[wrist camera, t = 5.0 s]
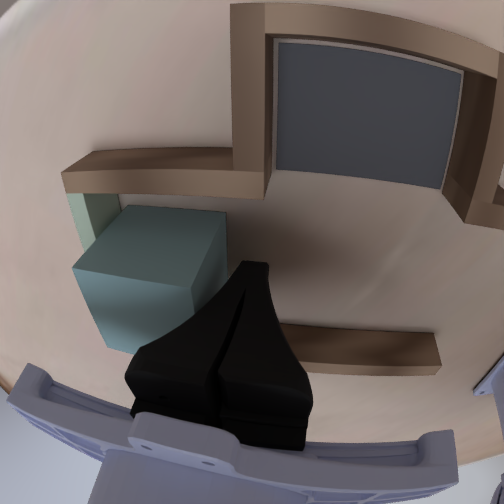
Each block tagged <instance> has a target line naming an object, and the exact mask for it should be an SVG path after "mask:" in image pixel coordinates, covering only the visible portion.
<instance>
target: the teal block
mask: <svg viewBox="0 0 504 504" xmlns="http://www.w3.org/2000/svg"><path fill="white" fill-rule="evenodd" d="M72 270H73V272H74V275H75V277H76V280H77V282H78V285H79V287H80V289H81V292H82V294H83V296H84V299H85V301H86V303H87V306H88V308H89V310H90V312H91V314H92V316H93V319H94V321H95V323H96V325H97V327H98V329H99V331H100V333H101V335H102V337H103V339H104V341H105V343H106V345H107V347H108V348H112V349H115V350H119V351H123V352H126V353H130V354H134V355H135V353H136V352H137V350H138V349H139V347H141V346H144V345H146V344H148V343H150V342H152V341H154V340H156V339H158V338H160V337H162V336H164V335H165V334H167V333H168V332H170V331H172V330H173V329H175V328H177V327H178V326H180V325H181V324H182V323H184V322H185V321H186V320H188V319H189V318H190V317H192V316H193V315H194V314H195V313H197V312H198V311H199V310H200V309H201V308H202V307H203V306H204V305H205V304H207V303H208V302H209V301H210V300H211V299H212V297H213V296H214V295H215V294H216V293H217V292H218V291H219V290H220V289H221V288H222V287H223V285H224V284H225V283H226V282H227V281H228V267H227V239H226V212H215V211H204V210H192V209H179V208H165V207H151V206H136V205H128V206H127V207H126V208H125V209H124V210H123V211H122V212H121V213H120V214H119V215H118V216H117V217H116V218H115V219H114V221H113V222H112V223H111V224H110V225H109V226H108V227H107V228H106V229H105V230H104V231H103V232H102V234H101V235H100V236H99V237H98V238H97V239H96V240H95V241H94V242H93V244H92V245H91V246H90V247H89V248H88V249H87V250H86V252H85V253H84V254H83V255H82V256H81V257H80V259H79V260H78V261H77V262H76V263H75V265H74V266H73V267H72Z"/></svg>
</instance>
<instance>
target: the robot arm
mask: <svg viewBox="0 0 504 504" xmlns="http://www.w3.org/2000/svg"><path fill="white" fill-rule="evenodd" d="M268 275H269V265H268V264H267V263H265V262H255V261H244V260H243V261H242V262H241V263H240V265H239V266H238V268H237V269H236V270H235V272H234V273H233V274H232V276H231V277H230V278H229V280H228V281H227V282H226V283H225V284H224V285H223V287H222V288H221V289H220V290H219V291H218V292H217V293H216V294H215V295H214V296H213V297H212V299H211V300H210V301H209V302H208V303H207V304H205V305H204V306H203V307H202V308H201V309H200V310H199V311H198V312H197V313H195V314H194V315H193V316H192V317H190V318H189V319H188V320H186V321H185V322H184V323H182V324H181V325H180V326H178V327H177V328H175V329H173V330H172V331H170V332H168V333H167V334H165V335H164V336H162V337H160V338H158V339H156V340H154V341H152V342H150V343H148V344H146V345H144V346H141V347H139V349H138V350H137V352H136V353H135V355H134V357H133V358H132V360H131V362H130V364H129V366H128V369H127V371H126V373H125V377H124V378H125V381H126V383H127V385H128V386H129V388H130V390H131V391H132V393H133V394H134V396H135V397H136V399H135V401H134V404H133V406H132V409H129V408H126V407H122V406H119V405H116V404H113V403H110V402H107V401H105V400H102V399H99V398H96V397H93V396H91V395H88V394H85V393H83V392H80V391H78V390H75V389H73V388H70V387H68V386H65V385H63V384H61V383H58V382H56V381H54V380H53V379H52V377H51V376H50V375H49V374H48V373H47V372H46V371H45V370H43V369H41V368H39V367H37V366H35V365H33V364H30V363H28V364H27V365H26V367H25V369H24V370H23V372H22V374H21V375H20V377H19V379H18V380H17V382H16V384H15V386H14V387H13V389H12V391H11V393H10V394H9V396H8V398H7V400H6V401H7V403H8V404H9V405H10V406H11V407H13V409H15V410H16V411H17V412H18V413H19V414H20V415H21V416H23V417H24V418H25V419H26V420H27V421H28V422H29V423H31V424H32V425H33V426H35V427H37V428H38V429H40V430H42V431H43V432H45V433H47V434H49V435H51V436H52V437H54V438H56V439H58V440H60V441H61V442H63V443H65V444H67V445H69V446H71V447H72V448H75V449H77V450H78V451H80V452H82V453H84V454H86V455H88V456H90V457H93V458H94V459H97V460H99V461H101V462H103V463H102V466H101V468H100V471H99V474H98V476H97V479H96V482H95V485H94V487H93V490H92V493H91V496H90V498H89V501H88V504H386V503H393V502H400V501H407V500H413V499H419V498H425V497H429V496H432V495H434V494H436V493H439V492H441V491H443V490H445V489H447V488H450V487H452V486H454V485H456V484H457V483H458V482H459V480H458V467H457V456H456V447H455V439H454V432H453V430H452V429H450V430H443V431H434V432H428V433H426V434H423V435H422V436H421V437H420V438H419V439H418V440H414V441H401V442H382V443H326V442H307V441H306V431H307V427H308V417H309V415H310V412H311V410H312V407H313V395H312V390H311V386H310V382H309V379H308V375H307V373H306V371H305V370H304V368H303V367H302V365H301V364H300V362H299V361H298V359H297V358H296V356H295V354H294V353H293V351H292V349H291V347H290V345H289V343H288V341H287V339H286V337H285V335H284V333H283V331H282V328H281V326H280V324H279V321H278V318H277V315H276V312H275V309H274V306H273V302H272V298H271V293H270V289H269V282H268ZM486 394H494V398H495V402H496V406H497V410H498V415H499V419H500V424H501V429H502V434H503V440H504V356H503V357H502V358H501V359H500V361H499V362H498V363H497V364H496V365H495V367H494V368H493V369H492V370H491V371H490V372H489V374H488V375H487V376H486V377H485V378H484V379H483V380H482V382H481V383H480V384H479V385H478V386H477V387H476V388H475V389H474V390H473V395H474V396H478V395H486ZM501 480H502V482H500V484H499V485H498V487H497V488H496V490H495V492H494V495H493V497H492V500H491V503H490V504H504V473H503V474H502V475H501Z"/></svg>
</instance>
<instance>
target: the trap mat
mask: <svg viewBox="0 0 504 504" xmlns="http://www.w3.org/2000/svg"><path fill="white" fill-rule="evenodd" d="M460 82H461V74H459V73H456V72H452V71H449V70H446V69H443V68H439V67H436V66H432V65H428V64H425V63H421V62H417V61H413V60H408V59H404V58H399V57H395V56H390V55H385V54H379V53H374V52H368V51H362V50H355V49H348V48H340V47H331V46H321V45H309V44H293V43H279V64H278V121H277V160H276V169H278V170H291V171H303V172H315V173H325V174H335V175H344V176H353V177H361V178H369V179H376V180H384V181H391V182H398V183H404V184H411V185H417V186H423V187H429V188H434V189H440V188H441V185H442V181H443V177H444V173H445V168H446V164H447V160H448V155H449V150H450V145H451V140H452V135H453V130H454V124H455V118H456V112H457V105H458V98H459V90H460Z"/></svg>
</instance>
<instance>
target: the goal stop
mask: <svg viewBox="0 0 504 504" xmlns="http://www.w3.org/2000/svg"><path fill="white" fill-rule="evenodd" d="M66 195H67V198H68V202H69V205H70V209H71V212H72V215H73V219H74V222H75V225H76V228H77V231H78V234H79V237H80V240H81V243H82V246H83V249H84V252H86V250H87V249H88V248H89V247H90V246H91V245H92V244H93V242H94V241H95V240H96V239H97V238H98V237H99V236H100V235H101V234H102V232H103V231H104V230H105V229H106V228H107V227H108V226H109V225H110V224H111V223H112V222H113V221H114V219H115V218H116V217H117V216H118V215H119V214H120V213H121V209H120V205H119V200H118V195H117V194H110V193H69V194H66Z"/></svg>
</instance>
